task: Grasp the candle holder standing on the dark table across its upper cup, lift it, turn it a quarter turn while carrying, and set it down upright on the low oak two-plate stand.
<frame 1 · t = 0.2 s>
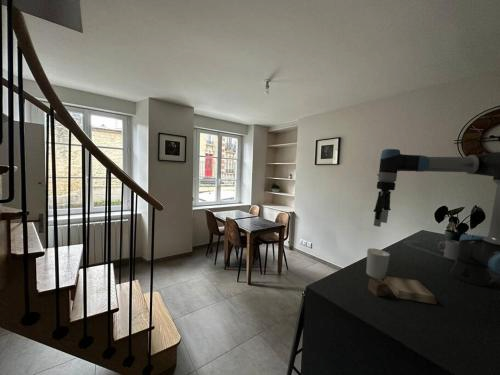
hand: (380, 224, 108), 26 cm above the table, fingers open, 13 cm apart
candle holder: (375, 275, 111), on the table
mug: (448, 257, 144), on the table
walnut block: (377, 292, 94), on the table
stand: (407, 291, 96), on the table
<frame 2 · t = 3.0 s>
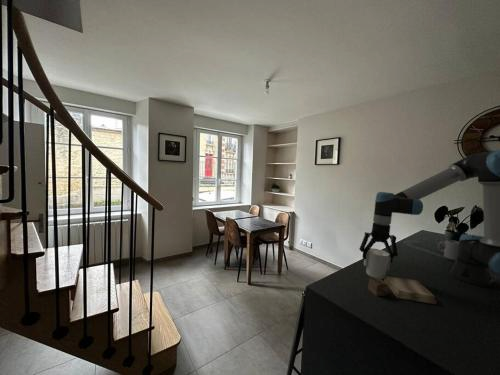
hand: (376, 266, 110), 4 cm above the table, fingers closed on candle holder, 9 cm apart
candle holder: (375, 275, 111), on the table, touching gripper
everything else where it was.
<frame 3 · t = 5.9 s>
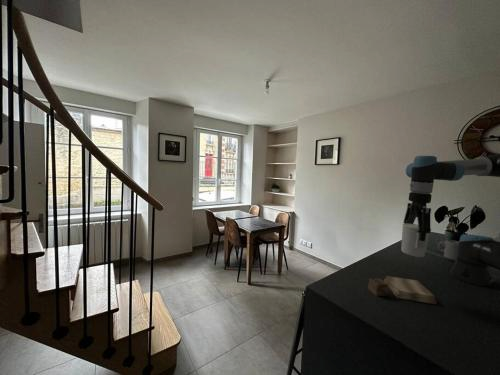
hand: (413, 244, 95), 21 cm above the table, fingers closed on candle holder, 9 cm apart
candle holder: (412, 253, 95), point 17 cm above the table, touching gripper
everything else where it was.
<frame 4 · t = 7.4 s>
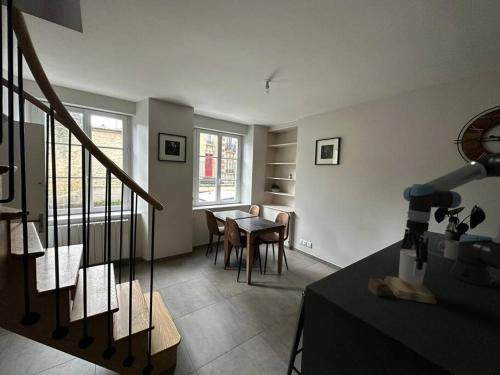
hand: (410, 270, 95), 10 cm above the table, fingers closed on candle holder, 9 cm apart
candle holder: (410, 280, 96), point 5 cm above the table, touching gripper
everything else where it was.
when the fingers open (7 cm above the table, at t = 8.8 s): candle holder stays where it is, resting on stand.
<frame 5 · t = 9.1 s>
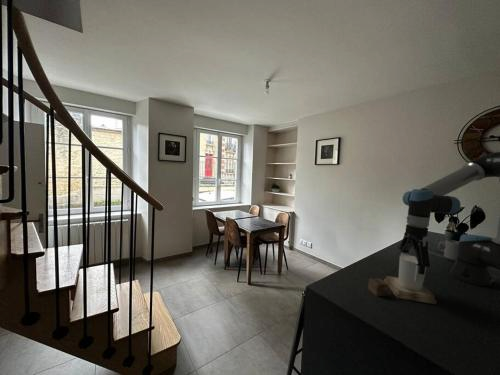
hand: (410, 273, 96), 8 cm above the table, fingers open, 13 cm apart
candle holder: (409, 285, 96), point 3 cm above the table, touching stand
everything else where it was.
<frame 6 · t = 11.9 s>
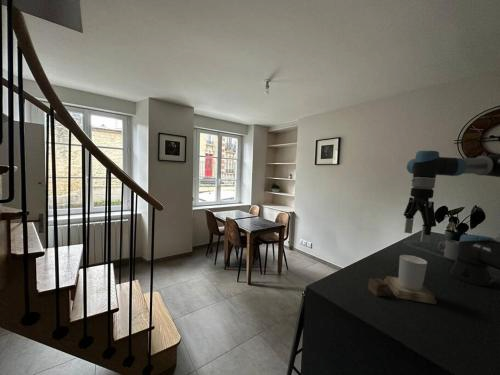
hand: (415, 237, 94), 25 cm above the table, fingers open, 13 cm apart
nothing on the table moved.
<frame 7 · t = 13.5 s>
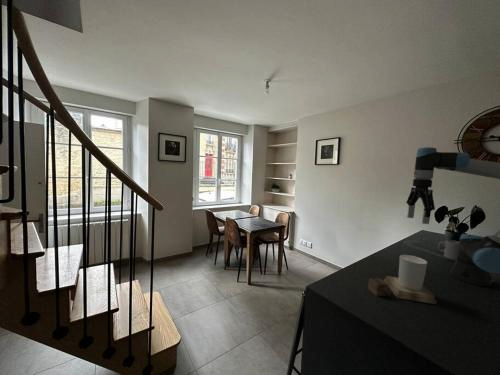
hand: (417, 220, 112), 28 cm above the table, fingers open, 13 cm apart
nothing on the table moved.
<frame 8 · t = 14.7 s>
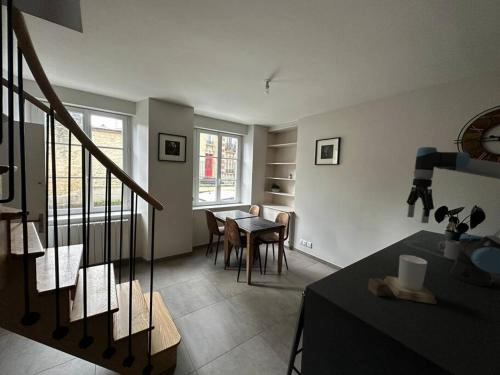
hand: (416, 219, 112), 29 cm above the table, fingers open, 13 cm apart
nothing on the table moved.
at the end: candle holder inside the target area on the stand (0.3 cm from its centre), point 2.8 cm above the stand's base; candle holder tilted 0°; the gripper is holding nothing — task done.
